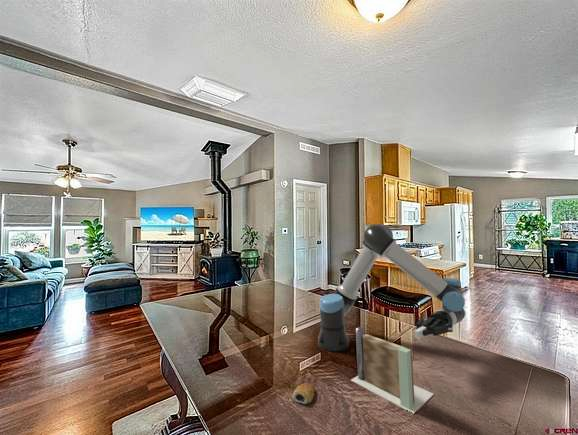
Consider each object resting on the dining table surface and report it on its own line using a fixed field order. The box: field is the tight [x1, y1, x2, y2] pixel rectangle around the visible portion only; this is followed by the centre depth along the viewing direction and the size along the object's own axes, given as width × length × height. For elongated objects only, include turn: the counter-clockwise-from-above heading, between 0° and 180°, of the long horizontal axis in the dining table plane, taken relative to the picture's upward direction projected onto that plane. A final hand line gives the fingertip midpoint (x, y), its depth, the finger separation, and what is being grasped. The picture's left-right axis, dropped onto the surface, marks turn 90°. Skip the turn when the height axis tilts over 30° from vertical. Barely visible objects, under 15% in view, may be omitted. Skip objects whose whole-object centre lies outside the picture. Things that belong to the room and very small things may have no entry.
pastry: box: [291, 382, 315, 405], centre depth 92 cm, size 9×7×4 cm
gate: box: [363, 333, 415, 403], centre depth 93 cm, size 18×2×17 cm, turn 38°
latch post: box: [398, 346, 413, 410], centre depth 85 cm, size 3×2×18 cm
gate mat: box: [350, 375, 435, 415], centre depth 95 cm, size 24×14×1 cm, turn 39°
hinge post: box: [355, 326, 365, 380], centre depth 101 cm, size 3×3×19 cm
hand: (416, 334), depth 97 cm, fingers closed
